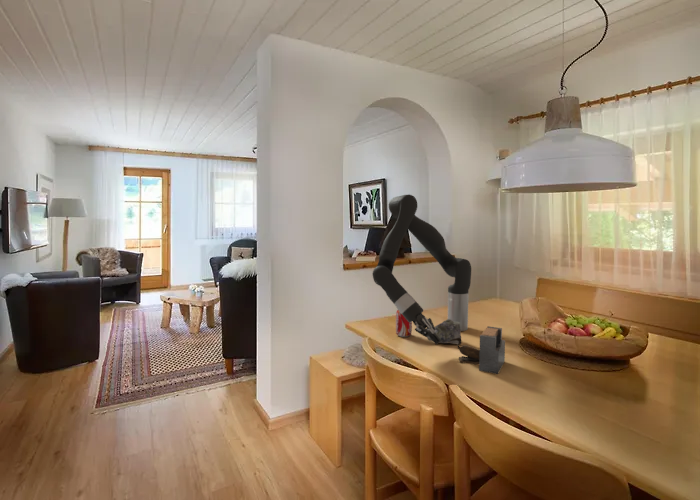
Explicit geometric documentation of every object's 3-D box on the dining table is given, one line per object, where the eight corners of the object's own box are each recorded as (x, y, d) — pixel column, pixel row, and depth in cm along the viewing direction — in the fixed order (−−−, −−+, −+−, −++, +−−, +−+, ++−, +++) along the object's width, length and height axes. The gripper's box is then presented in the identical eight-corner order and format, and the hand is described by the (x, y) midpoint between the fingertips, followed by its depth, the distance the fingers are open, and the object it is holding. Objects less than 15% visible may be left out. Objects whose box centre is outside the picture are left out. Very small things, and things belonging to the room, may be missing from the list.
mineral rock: (425, 343, 165) (426, 319, 164) (435, 336, 174) (435, 314, 173) (456, 348, 158) (456, 324, 157) (464, 341, 167) (464, 318, 166)
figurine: (447, 362, 144) (447, 338, 143) (447, 358, 148) (447, 335, 147) (487, 365, 140) (488, 341, 139) (486, 361, 144) (487, 338, 144)
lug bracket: (486, 358, 146) (487, 326, 145) (504, 361, 143) (505, 328, 142) (479, 370, 135) (479, 335, 134) (498, 374, 132) (499, 338, 131)
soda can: (406, 338, 171) (407, 311, 169) (392, 335, 175) (392, 309, 174) (414, 334, 176) (414, 308, 175) (400, 332, 180) (400, 306, 179)
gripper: (408, 304, 146) (440, 342, 141) (421, 298, 158) (450, 332, 153) (395, 317, 150) (426, 353, 145) (408, 309, 161) (437, 343, 156)
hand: (438, 342), depth 149 cm, fingers closed
